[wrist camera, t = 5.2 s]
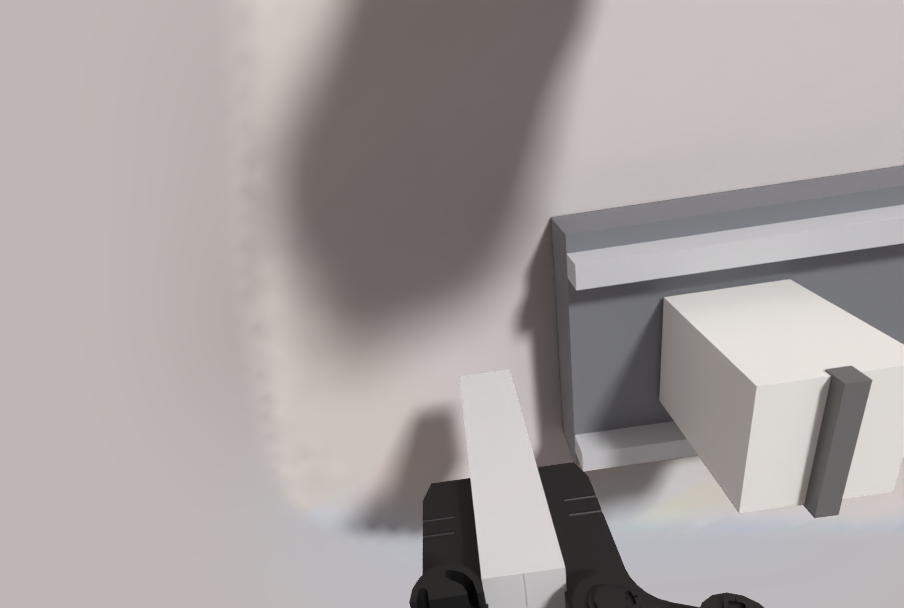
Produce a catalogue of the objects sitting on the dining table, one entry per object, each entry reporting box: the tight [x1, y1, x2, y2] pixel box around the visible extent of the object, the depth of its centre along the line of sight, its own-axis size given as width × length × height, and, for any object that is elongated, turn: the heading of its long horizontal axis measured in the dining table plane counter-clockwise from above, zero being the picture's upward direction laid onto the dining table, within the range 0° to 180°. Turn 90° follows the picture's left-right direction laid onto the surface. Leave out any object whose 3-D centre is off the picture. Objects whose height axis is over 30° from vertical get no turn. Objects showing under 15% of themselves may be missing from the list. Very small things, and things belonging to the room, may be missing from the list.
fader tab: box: [659, 279, 904, 518], centre depth 14 cm, size 4×4×5 cm
